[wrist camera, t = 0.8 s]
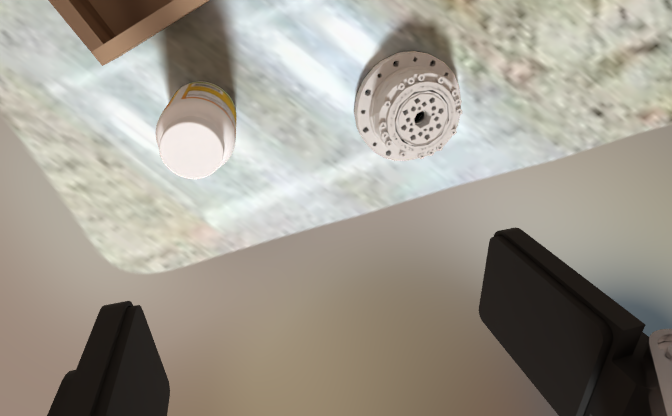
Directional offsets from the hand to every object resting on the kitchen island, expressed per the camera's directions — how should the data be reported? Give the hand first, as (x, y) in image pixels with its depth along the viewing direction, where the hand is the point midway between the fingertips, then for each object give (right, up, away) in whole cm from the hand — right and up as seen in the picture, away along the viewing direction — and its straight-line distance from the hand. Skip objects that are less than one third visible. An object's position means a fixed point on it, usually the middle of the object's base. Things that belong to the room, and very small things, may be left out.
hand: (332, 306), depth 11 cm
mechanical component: (+7, +12, +27) cm, 31 cm away
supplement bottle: (-11, +11, +24) cm, 28 cm away
